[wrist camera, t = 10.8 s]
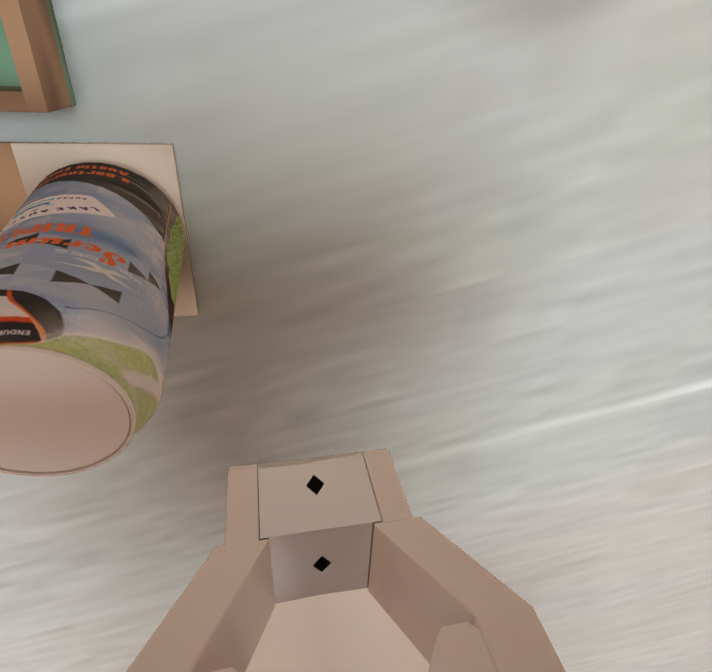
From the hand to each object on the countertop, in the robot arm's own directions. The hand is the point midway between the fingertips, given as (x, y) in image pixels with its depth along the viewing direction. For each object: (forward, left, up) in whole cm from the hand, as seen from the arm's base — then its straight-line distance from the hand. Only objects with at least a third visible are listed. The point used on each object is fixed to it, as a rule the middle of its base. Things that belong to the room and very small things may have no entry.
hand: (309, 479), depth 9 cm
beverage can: (0, +7, -16) cm, 18 cm away
